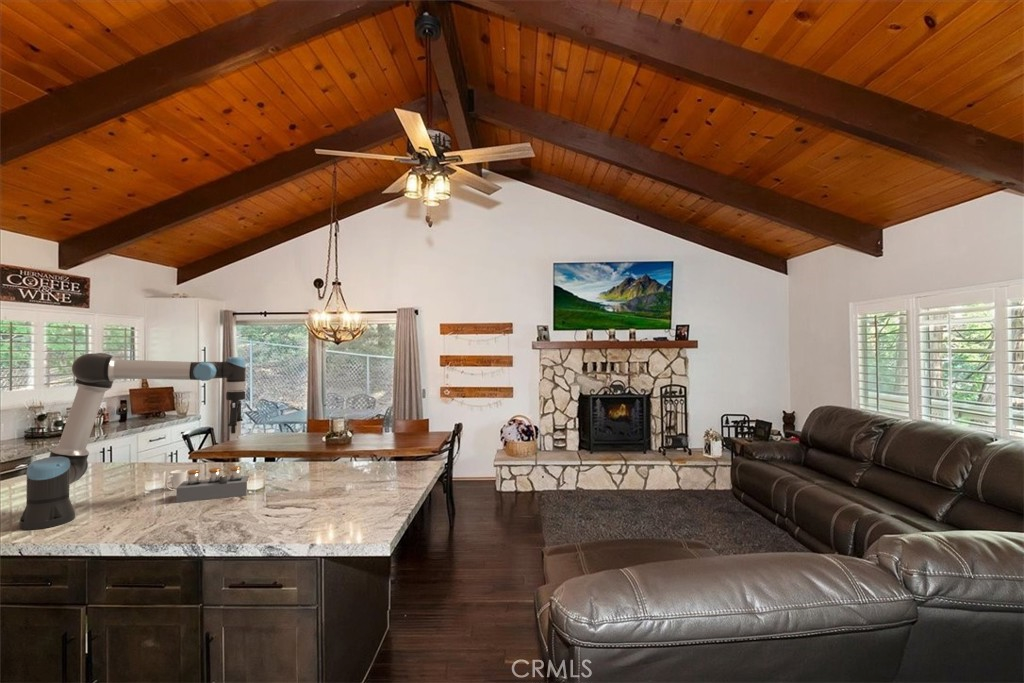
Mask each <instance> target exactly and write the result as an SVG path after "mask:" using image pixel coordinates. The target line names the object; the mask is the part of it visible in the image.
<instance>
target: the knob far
mask: <svg viewBox="0 0 1024 683" xmlns="http://www.w3.org/2000/svg"><path fill="white" fill-rule="evenodd" d="M241 469H242V466H240V465H236V466H231V467H229V473H230V474H229V475H230V476H229V477H230V482H232V481H240V476H241Z"/></svg>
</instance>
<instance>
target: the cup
mask: <svg viewBox="0 0 1024 683" xmlns="http://www.w3.org/2000/svg"><path fill="white" fill-rule="evenodd" d="M187 471H189V470H188V469H177V470H172V471H170V472H169V475H168V476H167V477H166V479H165V484H164V486H165V487H166V488H167V489H169V490H171V491H177V488H178V487H179V486H180V485H181V483H182V482H183V481H187V479H188V473H187ZM169 479H170V483H171V486H172V488H170V487H169V485H168V482H169Z"/></svg>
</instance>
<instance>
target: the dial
mask: <svg viewBox="0 0 1024 683" xmlns="http://www.w3.org/2000/svg"><path fill="white" fill-rule="evenodd" d="M227 478H228V475H220V484H226V483H227Z"/></svg>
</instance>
